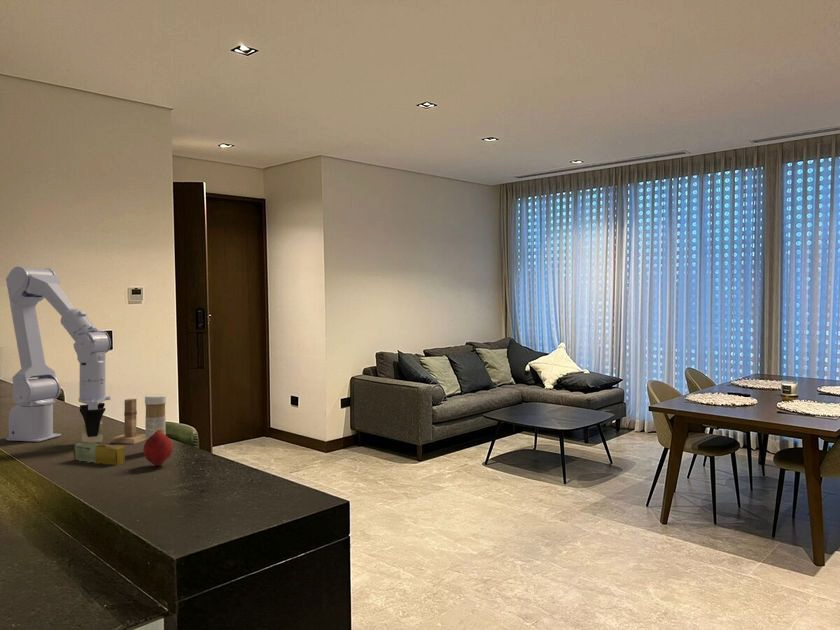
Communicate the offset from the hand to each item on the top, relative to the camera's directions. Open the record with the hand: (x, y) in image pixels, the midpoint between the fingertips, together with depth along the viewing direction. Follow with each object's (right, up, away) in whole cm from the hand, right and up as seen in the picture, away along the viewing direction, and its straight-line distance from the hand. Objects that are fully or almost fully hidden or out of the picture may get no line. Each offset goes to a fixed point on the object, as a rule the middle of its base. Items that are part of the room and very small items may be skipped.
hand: (92, 434), depth 156 cm
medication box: (+11, -3, -18) cm, 21 cm away
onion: (+25, -3, -21) cm, 33 cm away
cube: (0, -2, 0) cm, 2 cm away
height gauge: (+8, -2, +4) cm, 9 cm away
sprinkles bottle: (+19, -3, -8) cm, 21 cm away
